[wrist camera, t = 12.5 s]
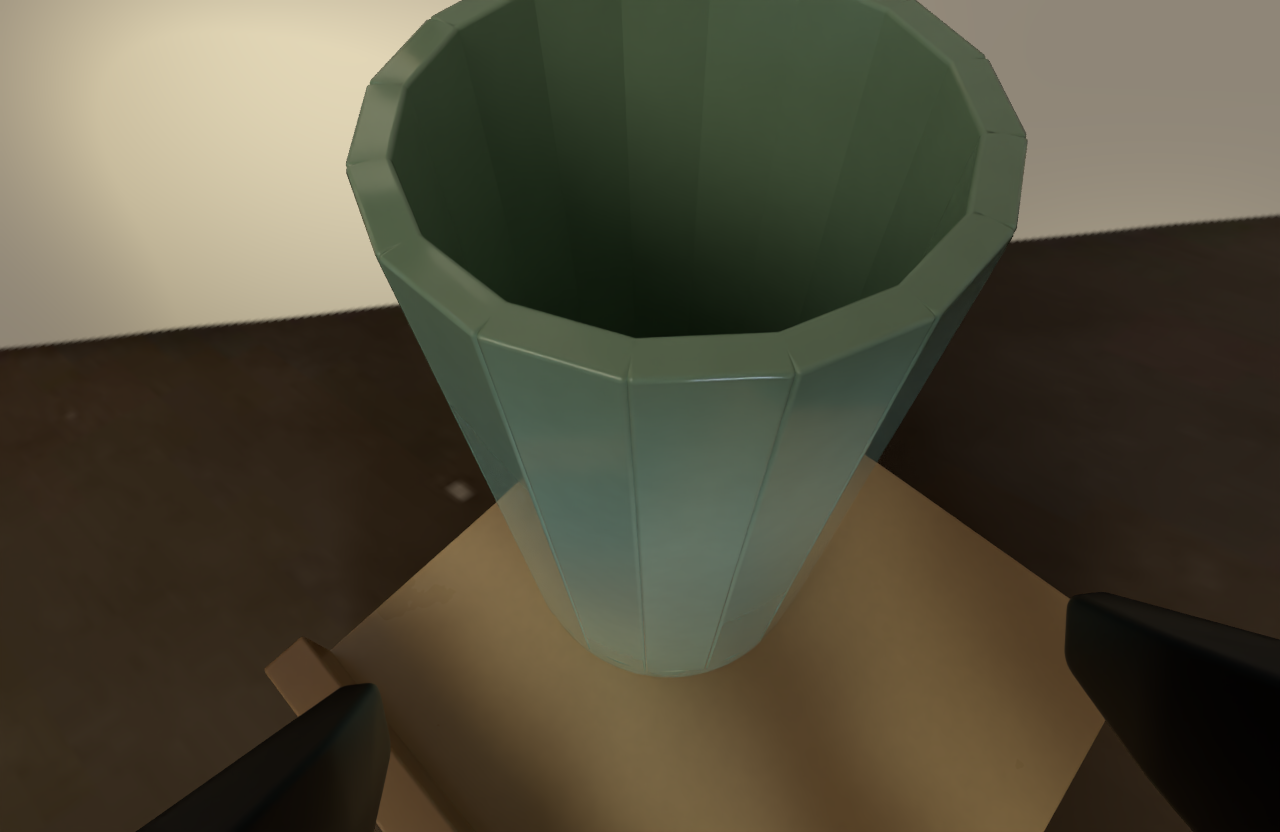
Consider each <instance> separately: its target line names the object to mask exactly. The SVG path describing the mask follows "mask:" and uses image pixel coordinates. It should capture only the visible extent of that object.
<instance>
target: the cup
mask: <svg viewBox="0 0 1280 832" xmlns="http://www.w3.org/2000/svg"><path fill="white" fill-rule="evenodd" d="M1026 150H1027V139H1026V132H1025V130H1024V128H1023V126H1022V124H1021V122H1020V121H1019V119H1018V116H1017V115H1016V113H1015V111H1014V109H1013V107H1012V105H1011V103H1010V101H1009V99H1008V97H1007V95H1006V93H1005V91H1004V89H1003V87H1002V85H1001V83H1000V81H999V79H998V77H997V75H996V73H995V71H994V69H993V67H992V65H991V63H990V61H989V60H988V59H985V56H984V54H982V53H981V52H980V51H979V50H978V49H976V48H975V47H974V46H973V45H971V44H970V43H969V42H968V41H966V40H965V39H964V38H962V37H961V36H960V35H959V34H958V33H956V32H955V31H954V30H953V29H951V28H950V27H949V26H948V25H946V24H945V23H943V21H941V20H940V19H939V18H938V17H936V16H935V15H934V14H933V13H931V12H930V11H929V10H928V9H926V8H925V7H924V6H923V5H921V4H920V3H919V2H917V1H916V0H462V1H459V2H458V3H456V4H454V5H452V6H450V7H448V8H446V9H444V10H443V11H441V12H439V13H437V14H435V15H433V16H432V17H431V19H429V20H426V22H425V23H424V24H423V25H422V26H421V27H420V28H419V29H418V30H417V31H416V32H415V33H414V34H413V35H412V37H411V38H410V39H409V40H408V41H407V42H406V43H405V44H404V45H403V46H402V47H401V48H400V49H399V50H398V52H397V53H396V54H395V55H394V56H393V57H392V58H391V59H390V60H389V61H388V62H387V63H386V64H385V66H384V67H383V68H382V69H381V70H380V71H379V72H378V73H377V74H376V75H375V76H374V77H373V78H372V79H371V81H370V85H368V86H367V88H366V92H365V96H364V99H363V103H362V107H361V110H360V114H359V118H358V121H357V125H356V128H355V132H354V136H353V139H352V143H351V147H350V150H349V154H348V158H347V161H346V166H347V169H346V173H347V176H348V179H349V182H350V185H351V188H352V190H353V193H354V196H355V199H356V202H357V205H358V207H359V210H360V213H361V216H362V219H363V222H364V224H365V227H366V230H367V233H368V236H369V239H370V242H371V244H372V247H373V250H374V253H375V256H376V257H377V260H378V262H379V264H380V266H381V268H382V270H383V272H384V274H385V276H386V278H387V280H388V282H389V284H390V286H391V288H392V290H393V292H394V294H395V296H396V298H397V300H398V303H399V305H400V307H401V309H402V311H403V313H404V315H405V317H406V319H407V321H408V323H409V325H410V327H411V329H412V331H413V333H414V335H415V337H416V339H417V341H418V343H419V345H420V347H421V349H422V352H423V354H424V356H425V358H426V360H427V362H428V364H429V366H430V368H431V370H432V372H433V374H434V376H435V378H436V380H437V382H438V384H439V386H440V388H441V390H442V392H443V394H444V396H445V398H446V400H447V402H448V405H449V407H450V409H451V411H452V413H453V415H454V417H455V419H456V421H457V423H458V425H459V427H460V429H461V431H462V433H463V435H464V437H465V439H466V441H467V443H468V445H469V447H470V449H471V451H472V453H473V455H474V458H475V460H476V462H477V464H478V466H479V468H480V470H481V472H482V474H483V476H484V478H485V480H486V482H487V484H488V486H489V488H490V490H491V492H492V494H493V496H494V498H495V500H496V502H497V504H498V506H499V508H500V511H501V513H502V515H503V517H504V519H505V521H506V523H507V525H508V527H509V529H510V531H511V533H512V535H513V537H514V539H515V541H516V543H517V545H518V547H519V549H520V551H521V553H522V555H523V557H524V559H525V561H526V564H527V566H528V568H529V570H530V572H531V574H532V576H533V578H534V580H535V582H536V584H537V586H538V588H539V590H540V592H541V594H542V596H543V598H544V600H545V602H546V604H547V606H548V608H549V609H550V611H551V612H552V613H553V614H554V615H555V616H556V618H557V619H558V621H559V622H560V624H561V625H562V626H563V628H564V629H565V630H566V631H567V632H568V633H569V634H570V636H571V637H572V638H573V639H574V640H576V641H577V642H578V643H579V644H580V645H581V646H582V647H584V648H585V649H586V650H587V651H589V652H590V653H592V654H593V655H595V656H597V657H598V658H600V659H601V660H603V661H605V662H607V663H609V664H611V665H614V666H616V667H618V668H620V669H624V670H627V671H630V672H633V673H637V674H642V675H648V676H654V677H682V676H691V675H697V674H701V673H705V672H708V671H712V670H715V669H717V668H720V667H722V666H725V665H727V664H729V663H731V662H733V661H735V660H736V659H738V658H740V657H741V656H743V655H745V654H746V653H748V652H749V651H750V650H751V649H753V648H754V647H755V646H756V645H758V644H759V643H760V642H761V641H762V640H763V639H764V638H765V637H766V636H767V635H768V633H769V632H770V631H771V630H772V629H773V628H774V626H775V625H776V623H777V622H778V621H779V619H780V618H781V616H782V615H783V613H784V612H785V611H786V610H787V608H788V607H789V606H790V605H791V603H792V602H793V601H794V599H795V598H796V596H797V594H798V593H799V591H800V589H801V588H802V586H803V584H804V583H805V581H806V579H807V578H808V576H809V574H810V573H811V571H812V569H813V568H814V566H815V564H816V563H817V561H818V559H819V558H820V556H821V554H822V553H823V551H824V549H825V548H826V546H827V544H828V543H829V541H830V539H831V538H832V536H833V534H834V533H835V531H836V530H837V528H838V526H839V525H840V523H841V521H842V520H843V518H844V516H845V515H846V513H847V511H848V510H849V508H850V506H851V505H852V503H853V501H854V500H855V498H856V496H857V495H858V493H859V491H860V490H861V488H862V486H863V485H864V483H865V481H866V480H867V478H868V476H869V475H870V473H871V471H872V470H873V468H874V466H875V465H876V463H877V461H878V460H879V458H880V456H881V455H882V453H883V451H884V450H885V448H886V446H887V445H888V443H889V441H890V440H891V438H892V437H893V435H894V433H895V432H896V430H897V428H898V427H899V425H900V423H901V422H902V420H903V418H904V417H905V415H906V413H907V412H908V410H909V408H910V407H911V405H912V403H913V402H914V400H915V398H916V397H917V395H918V393H919V392H920V390H921V388H922V387H923V385H924V383H925V382H926V380H927V378H928V377H929V375H930V373H931V372H932V370H933V368H934V367H935V365H936V363H937V362H938V360H939V358H940V357H941V355H942V353H943V352H944V350H945V349H946V347H947V345H948V344H949V342H950V340H951V339H952V337H953V335H954V334H955V332H956V330H957V329H958V327H959V325H960V324H961V322H962V320H963V319H964V317H965V315H966V314H967V312H968V310H969V309H970V307H971V305H972V304H973V302H974V300H975V299H976V297H977V295H978V294H979V292H980V290H981V289H982V287H983V285H984V284H985V282H986V280H987V279H988V277H989V275H990V274H991V272H992V270H993V269H994V267H995V265H996V264H997V262H998V260H999V259H1000V257H1001V256H1002V254H1003V252H1004V251H1005V249H1006V247H1007V246H1008V244H1009V242H1010V241H1011V239H1012V237H1013V234H1014V232H1015V230H1016V228H1017V222H1018V214H1019V205H1020V197H1021V190H1022V182H1023V174H1024V166H1025V158H1026Z"/></svg>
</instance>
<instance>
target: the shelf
mask: <svg viewBox="0 0 1280 832" xmlns="http://www.w3.org/2000/svg"><path fill="white" fill-rule="evenodd" d="M1069 600H1070V599H1069V598H1068V597H1066V596H1065V595H1064V594H1062V593H1061V592H1059V591H1058V590H1057V589H1055V588H1054V587H1052V586H1051V585H1050V584H1048V583H1047V582H1045V581H1044V580H1042V579H1041V578H1040V577H1038V576H1037V575H1035V574H1034V573H1033V572H1031V571H1030V570H1028V569H1027V568H1025V567H1024V566H1023V565H1021V564H1020V563H1018V562H1017V561H1016V560H1014V559H1013V558H1011V557H1010V556H1008V555H1007V554H1006V553H1004V552H1003V551H1001V550H1000V549H999V548H997V547H996V546H994V545H993V544H991V543H990V542H989V541H987V540H986V539H984V538H983V537H982V536H980V535H979V534H977V533H976V532H975V531H973V530H972V529H970V528H969V527H967V526H966V525H965V524H963V523H962V522H960V521H959V520H958V519H956V518H955V517H953V516H952V515H950V514H949V513H948V512H946V511H945V510H943V509H942V508H941V507H939V506H938V505H936V504H935V503H933V502H932V501H931V500H929V499H928V498H926V497H925V496H924V495H922V494H921V493H919V492H918V491H916V490H915V489H914V488H912V487H911V486H909V485H908V484H907V483H905V482H904V481H902V480H901V479H900V478H898V477H897V476H895V475H894V474H892V473H891V472H890V471H888V470H887V469H885V468H884V467H883V466H881V465H880V464H878V463H876V465H875V466H874V468H873V470H872V471H871V473H870V475H869V476H868V478H867V480H866V481H865V483H864V485H863V486H862V488H861V490H860V491H859V493H858V495H857V496H856V498H855V500H854V501H853V503H852V505H851V506H850V508H849V510H848V511H847V513H846V515H845V516H844V518H843V520H842V521H841V523H840V525H839V526H838V528H837V530H836V531H835V533H834V534H833V536H832V538H831V539H830V541H829V543H828V544H827V546H826V548H825V549H824V551H823V553H822V554H821V556H820V558H819V559H818V561H817V563H816V564H815V566H814V568H813V569H812V571H811V573H810V574H809V576H808V578H807V579H806V581H805V583H804V584H803V586H802V588H801V589H800V591H799V593H798V594H797V596H796V598H795V599H794V601H793V602H792V603H791V605H790V606H789V607H788V608H787V610H786V611H785V612H784V613H783V615H782V616H781V618H780V619H779V621H778V622H777V623H776V625H775V626H774V628H773V629H772V630H771V631H770V632H769V633H768V635H767V636H766V637H765V638H764V639H763V640H762V641H761V642H760V643H759V644H758V645H756V646H755V647H754V648H753V649H751V650H750V651H749V652H748V653H746V654H745V655H743V656H741V657H740V658H738V659H736V660H735V661H733V662H731V663H729V664H727V665H725V666H722V667H720V668H717V669H715V670H712V671H708V672H705V673H701V674H697V675H691V676H682V677H654V676H648V675H642V674H637V673H633V672H630V671H627V670H624V669H620V668H618V667H616V666H614V665H611V664H609V663H607V662H605V661H603V660H601V659H600V658H598V657H597V656H595V655H593V654H592V653H590V652H589V651H587V650H586V649H585V648H584V647H582V646H581V645H580V644H579V643H578V642H577V641H576V640H574V639H573V638H572V637H571V636H570V634H569V633H568V632H567V631H566V630H565V629H564V628H563V626H562V625H561V624H560V622H559V621H558V619H557V618H556V616H555V615H554V614H553V613H552V612H551V611H550V609H549V608H548V606H547V604H546V602H545V600H544V598H543V596H542V594H541V592H540V590H539V588H538V586H537V584H536V582H535V580H534V578H533V576H532V574H531V572H530V570H529V568H528V566H527V564H526V561H525V559H524V557H523V555H522V553H521V551H520V549H519V547H518V545H517V543H516V541H515V539H514V537H513V535H512V533H511V531H510V529H509V527H508V525H507V523H506V521H505V519H504V517H503V515H502V513H501V511H500V508H499V506H498V504H497V502H496V503H495V504H494V505H493V506H492V507H491V508H489V509H488V510H487V511H486V512H485V513H484V514H483V515H482V516H481V517H479V518H478V519H477V520H476V521H475V522H474V523H473V524H472V525H470V526H469V527H468V528H467V529H466V530H465V531H464V532H463V533H461V534H460V535H459V536H458V537H457V538H456V539H455V540H454V541H452V542H451V543H450V544H449V545H448V546H447V547H446V548H445V549H443V550H442V551H441V552H440V553H439V554H438V555H437V556H436V557H434V558H433V559H432V560H431V561H430V562H429V563H428V564H427V565H426V566H424V567H423V568H422V569H421V570H420V571H419V572H418V573H417V574H415V575H414V576H413V577H412V578H411V579H410V580H409V581H408V582H406V583H405V584H404V585H403V586H402V587H401V588H400V589H399V590H397V591H396V592H395V593H394V594H393V595H392V596H391V597H390V598H388V599H387V600H386V601H385V602H384V603H383V604H382V605H381V606H379V607H378V608H377V609H376V610H375V611H374V612H373V613H372V614H370V615H369V616H368V617H367V618H366V619H365V620H364V621H363V622H362V623H360V624H359V625H358V626H357V627H356V628H355V629H354V630H353V631H351V632H350V633H349V634H348V635H347V636H346V637H345V638H344V639H342V640H341V641H340V642H339V643H338V644H337V645H336V646H335V647H333V648H332V649H331V650H330V651H329V650H327V649H326V648H324V647H322V646H320V645H318V644H316V643H315V642H313V641H311V640H309V639H307V638H305V637H301V638H299V639H298V640H297V641H296V642H295V643H293V644H292V645H291V646H290V647H289V648H288V649H286V650H285V651H284V652H283V653H282V654H281V655H280V656H278V657H277V658H276V659H275V660H274V661H273V662H271V663H270V664H269V665H268V666H267V667H266V668H265V669H264V670H265V673H266V674H267V675H268V677H269V678H270V680H271V681H272V682H273V684H274V685H275V686H276V688H277V689H278V690H279V692H280V693H281V694H282V696H283V697H284V699H285V700H286V701H287V703H288V704H289V705H290V707H291V708H292V709H293V711H294V712H295V713H296V715H297V716H298V717H299V716H300V715H302V714H303V713H305V712H306V711H308V710H309V709H310V708H312V707H313V706H315V705H316V704H317V703H319V702H320V701H322V700H323V699H325V698H326V697H327V696H329V695H330V694H332V693H333V692H334V691H336V690H337V689H339V688H340V687H343V686H346V685H355V684H363V683H373V684H375V685H376V686H377V687H378V689H379V691H380V694H381V698H382V703H383V707H384V712H385V717H386V721H387V726H388V731H389V735H390V743H391V752H390V760H389V765H388V769H387V774H386V778H385V783H384V787H383V792H382V797H381V801H380V806H379V810H378V815H377V820H376V823H377V824H378V826H379V827H380V828H381V830H382V831H383V832H1044V831H1045V829H1046V827H1047V825H1048V823H1049V822H1050V820H1051V818H1052V816H1053V814H1054V812H1055V811H1056V809H1057V807H1058V805H1059V803H1060V802H1061V800H1062V798H1063V796H1064V794H1065V793H1066V791H1067V789H1068V787H1069V785H1070V784H1071V782H1072V780H1073V778H1074V776H1075V774H1076V773H1077V771H1078V769H1079V767H1080V765H1081V764H1082V762H1083V760H1084V758H1085V756H1086V755H1087V753H1088V751H1089V749H1090V747H1091V746H1092V744H1093V742H1094V740H1095V738H1096V736H1097V735H1098V733H1099V731H1100V729H1101V727H1102V726H1103V724H1104V722H1105V719H1104V717H1103V716H1102V715H1101V713H1100V712H1099V710H1098V709H1097V708H1096V706H1095V705H1094V703H1093V702H1092V701H1091V699H1090V698H1089V697H1088V695H1087V694H1086V692H1085V691H1084V690H1083V688H1082V687H1081V685H1080V684H1079V683H1078V681H1077V680H1076V678H1075V677H1074V676H1073V674H1072V673H1071V671H1070V669H1069V667H1068V665H1067V662H1066V659H1065V654H1064V645H1065V627H1066V610H1067V604H1068V602H1069Z"/></svg>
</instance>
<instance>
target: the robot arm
mask: <svg viewBox="0 0 1280 832" xmlns="http://www.w3.org/2000/svg"><path fill="white" fill-rule="evenodd" d="M1064 654H1065V659H1066V662H1067V665H1068V667H1069V669H1070V671H1071V673H1072V674H1073V676H1074V677H1075V678H1076V680H1077V681H1078V683H1079V684H1080V685H1081V687H1082V688H1083V690H1084V691H1085V692H1086V694H1087V695H1088V697H1089V698H1090V699H1091V701H1092V702H1093V703H1094V705H1095V706H1096V708H1097V709H1098V710H1099V712H1100V713H1101V715H1102V716H1103V717H1104V719H1105V720H1106V722H1107V723H1108V724H1109V726H1110V727H1111V729H1112V730H1113V731H1114V733H1115V734H1116V736H1117V737H1118V738H1119V740H1120V741H1121V743H1122V744H1123V745H1124V747H1125V748H1126V750H1127V751H1128V752H1129V754H1130V755H1131V756H1132V758H1133V759H1134V761H1135V762H1136V763H1137V764H1138V766H1139V767H1140V768H1141V770H1142V771H1143V772H1144V774H1145V775H1146V776H1147V778H1148V779H1149V780H1150V781H1151V782H1152V784H1153V785H1154V786H1155V787H1156V789H1157V790H1158V791H1159V792H1160V793H1161V795H1162V796H1163V797H1164V798H1165V799H1166V801H1167V802H1168V803H1169V804H1170V805H1171V806H1172V808H1173V809H1174V810H1175V811H1176V812H1177V813H1178V815H1179V816H1180V817H1181V818H1182V819H1183V820H1184V822H1185V823H1186V824H1187V825H1188V826H1189V827H1190V829H1191V830H1192V831H1193V832H1280V640H1279V639H1275V638H1271V637H1268V636H1264V635H1260V634H1257V633H1253V632H1250V631H1246V630H1242V629H1239V628H1235V627H1231V626H1228V625H1224V624H1220V623H1217V622H1213V621H1209V620H1206V619H1202V618H1198V617H1195V616H1191V615H1187V614H1184V613H1180V612H1176V611H1173V610H1169V609H1165V608H1162V607H1158V606H1154V605H1151V604H1147V603H1143V602H1140V601H1136V600H1132V599H1129V598H1125V597H1121V596H1118V595H1114V594H1110V593H1106V592H1096V593H1088V594H1080V595H1075V596H1073V597H1072V598H1071V599H1070V600H1069V602H1068V604H1067V610H1066V627H1065V645H1064ZM390 752H391V743H390V735H389V731H388V726H387V721H386V717H385V712H384V707H383V703H382V698H381V694H380V691H379V689H378V687H377V686H376V685H375V684H373V683H363V684H355V685H346V686H343V687H340V688H339V689H337V690H336V691H334V692H333V693H332V694H330V695H329V696H327V697H326V698H325V699H323V700H322V701H320V702H319V703H317V704H316V705H315V706H313V707H312V708H310V709H309V710H308V711H306V712H305V713H303V714H302V715H300V716H299V717H298V718H296V719H295V720H293V721H292V722H291V723H289V724H288V725H286V726H285V727H283V728H282V729H281V730H279V731H278V732H276V733H275V734H274V735H272V736H271V737H269V738H268V739H266V740H265V741H264V742H262V743H261V744H259V745H258V746H257V747H255V748H254V749H252V750H251V751H249V752H248V753H247V754H245V755H244V756H242V757H241V758H240V759H238V760H237V761H235V762H234V763H232V764H231V765H230V766H228V767H227V768H225V769H224V770H223V771H221V772H220V773H218V774H217V775H216V776H214V777H213V778H211V779H210V780H208V781H207V782H206V783H204V784H203V785H201V786H200V787H199V788H197V789H196V790H194V791H193V792H191V793H190V794H189V795H187V796H186V797H184V798H183V799H182V800H180V801H179V802H177V803H176V804H174V805H173V806H172V807H170V808H169V809H167V810H166V811H165V812H163V813H162V814H160V815H159V816H157V817H156V818H155V819H153V820H152V821H150V822H149V823H148V824H146V825H145V826H143V827H142V828H140V829H139V830H138V831H136V832H374V829H375V824H376V820H377V815H378V810H379V806H380V801H381V797H382V792H383V787H384V783H385V778H386V774H387V769H388V765H389V760H390Z"/></svg>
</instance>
